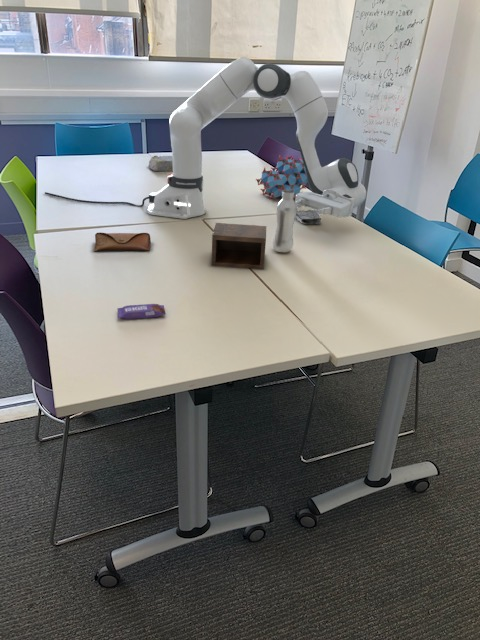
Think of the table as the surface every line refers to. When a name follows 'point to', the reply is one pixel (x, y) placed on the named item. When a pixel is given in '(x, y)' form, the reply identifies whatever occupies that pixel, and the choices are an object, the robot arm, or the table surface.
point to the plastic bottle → (285, 222)
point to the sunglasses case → (122, 242)
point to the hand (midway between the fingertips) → (307, 208)
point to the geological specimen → (161, 163)
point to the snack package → (141, 311)
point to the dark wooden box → (238, 245)
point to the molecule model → (284, 177)
